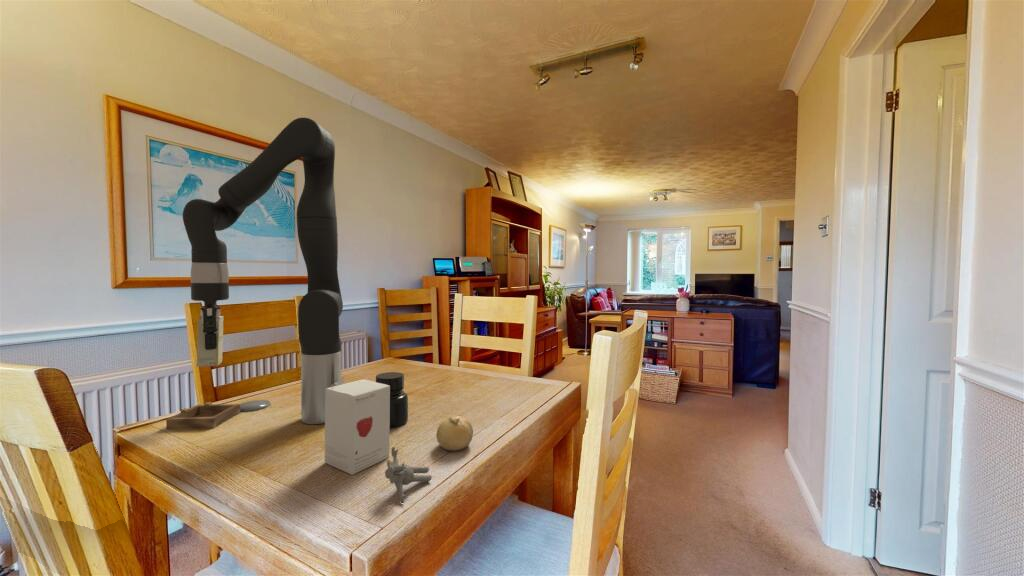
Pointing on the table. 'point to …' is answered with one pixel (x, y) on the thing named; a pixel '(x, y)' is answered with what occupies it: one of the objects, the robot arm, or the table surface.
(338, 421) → the supplement box
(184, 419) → the brown square shallow tray
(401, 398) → the ink bottle
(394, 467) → the grey toy figurine
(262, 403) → the coaster
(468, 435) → the onion
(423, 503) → the table surface
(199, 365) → the skincare box
